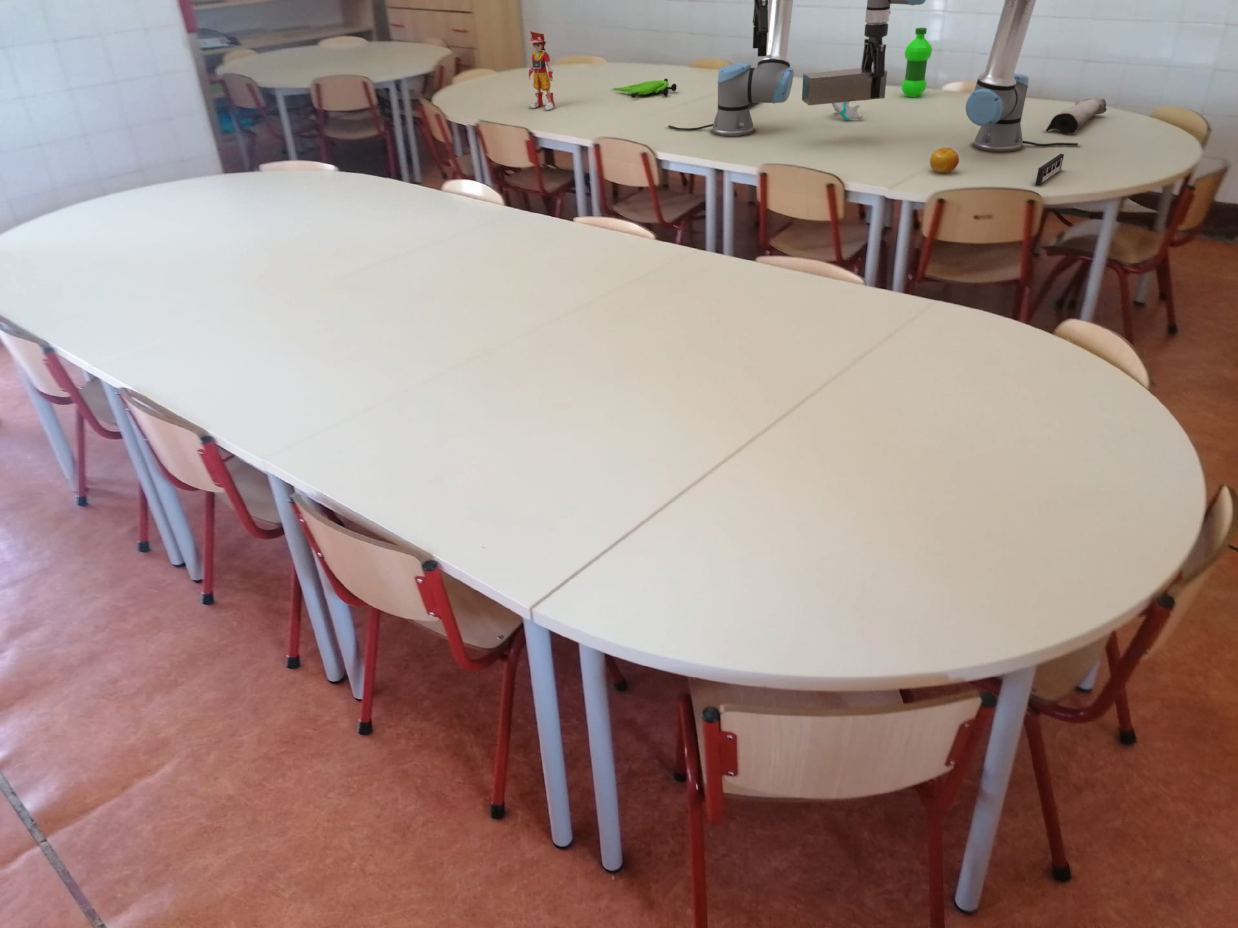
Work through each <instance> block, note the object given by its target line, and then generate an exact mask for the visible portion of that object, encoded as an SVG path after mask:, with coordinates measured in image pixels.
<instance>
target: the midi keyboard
mask: <svg viewBox="0 0 1238 928" xmlns="http://www.w3.org/2000/svg"><path fill="white" fill-rule="evenodd" d="M1064 157H1065V153H1059V154H1058V155H1056V156H1055V157H1052V159H1051V160H1049V161H1047V162H1045V164H1042V165H1041V166H1039V167H1038V169H1037V175H1036V179H1035V186H1040V185H1042V183H1044V182H1045V181H1047V180H1048V179H1049V178H1051V177H1052V176H1054V175H1055V174H1056V173H1058V172H1060V171H1061V170H1062V165H1063V161H1064Z"/></svg>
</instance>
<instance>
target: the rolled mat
mask: <svg viewBox="0 0 1238 928" xmlns="http://www.w3.org/2000/svg"><path fill="white" fill-rule="evenodd" d="M1107 110H1108V109H1107V101H1106V99H1105V98H1098V97H1091V98H1087V99H1079V100H1078V101H1076V102H1075V104H1074V105H1072V106H1071V107H1068V108H1067V109H1065V110H1063V111H1061V112H1059V113H1058V114H1056V115H1054V116H1053V117H1052V119H1050V122H1049V124H1048V126H1047V127H1046V129H1045V132H1049V131H1051V130H1057V131H1058V132H1059V133H1062V134H1065V135H1066V134H1067V135H1073V134H1074V133H1076V132H1077V131H1078V130H1079V129H1080V128H1081V127H1082V126H1083V125H1084V124H1085V123H1086V122H1087V121H1088V120H1089V119H1091V118H1092V117H1094V116H1096V115H1102V114H1104V113H1106V112H1107Z"/></svg>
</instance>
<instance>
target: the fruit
mask: <svg viewBox="0 0 1238 928" xmlns="http://www.w3.org/2000/svg"><path fill="white" fill-rule="evenodd" d="M959 163H960V156H959V154H958V152H957V151H956V150H955V149H953V148H951V147H942V148H938V149H936V150H934V151H933V153H932V154H931V155H930V159H929V166H930V168H931V169H932V170H933V171H934V172H936V173H939V174H940V173H943V174H944V173H945V174H946V173H951V172H953V171H954V170H956V168H957V167H958V165H959Z"/></svg>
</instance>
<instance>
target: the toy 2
mask: <svg viewBox="0 0 1238 928" xmlns="http://www.w3.org/2000/svg"><path fill="white" fill-rule="evenodd" d="M669 85H670V83H669V79H668V78H664V79H663V80H649V81H644V82H640V83H634V84H629V85H627V86H621V87H613V88H612V89H613V90H616V91H619V92H623V93H627V94H628V93H629V94H631V95H630V96H631V98H632V99H634V98H636V96H637V95H650V94H652V93H654V94H658V93H662V95H663V96H665V97H667V96H668V95H669V90H671V91H672V92H676V91H677V84H676V83H672V84H671V86H669Z"/></svg>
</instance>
